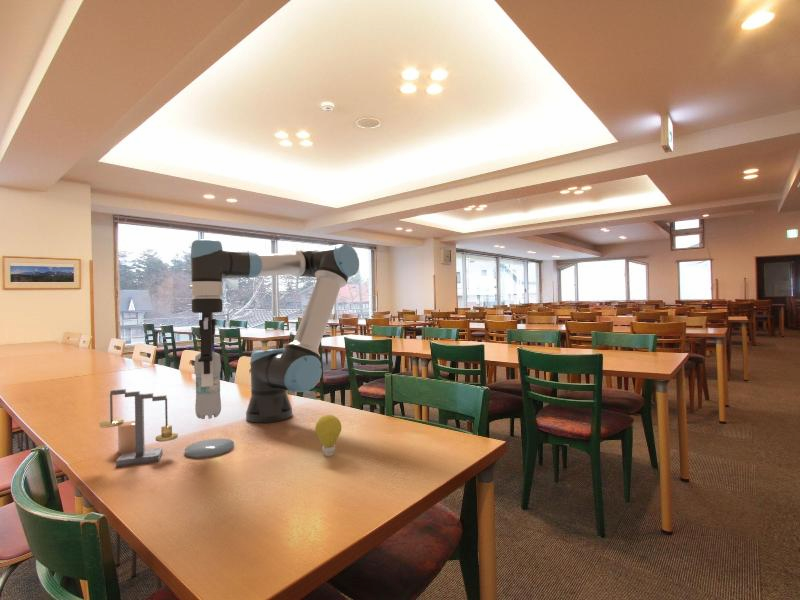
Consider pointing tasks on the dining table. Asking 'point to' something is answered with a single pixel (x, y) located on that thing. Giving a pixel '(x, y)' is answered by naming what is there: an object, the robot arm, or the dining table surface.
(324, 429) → the light bulb
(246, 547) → the dining table surface
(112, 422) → the balance
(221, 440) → the dish
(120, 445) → the peach rounded capsule
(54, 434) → the dining table surface
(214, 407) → the bottle
